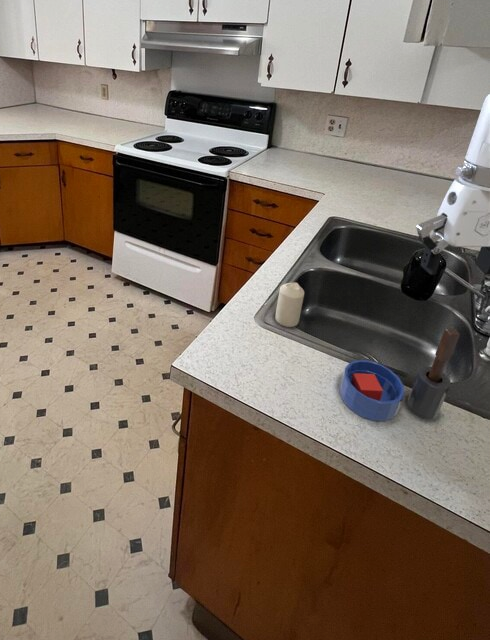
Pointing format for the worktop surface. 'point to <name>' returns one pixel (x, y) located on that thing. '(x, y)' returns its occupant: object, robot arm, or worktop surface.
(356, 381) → the red block
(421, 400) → the utensil holder
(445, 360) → the stirring stick
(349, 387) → the bowl
